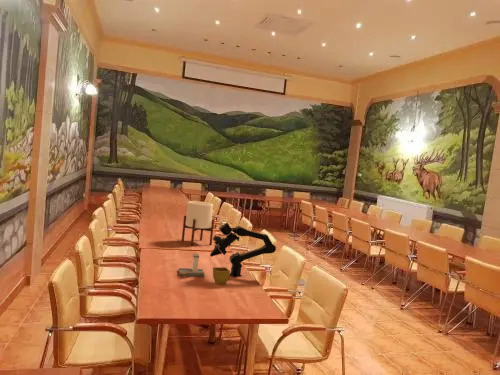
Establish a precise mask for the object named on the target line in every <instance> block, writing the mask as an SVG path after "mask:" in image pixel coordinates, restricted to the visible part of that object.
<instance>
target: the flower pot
mask: <svg viewBox="0 0 500 375" xmlns="http://www.w3.org/2000/svg"><path fill="white" fill-rule="evenodd" d="M229 274H231V270H230V269H228V268H227V267H225V266H224V267H212V276H213V281H214V282H215V284H217V285H226V284H227V282H228V280H229V277H230V275H229Z"/></svg>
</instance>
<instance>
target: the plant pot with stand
mask: <svg viewBox="0 0 500 375" xmlns="http://www.w3.org/2000/svg"><path fill="white" fill-rule="evenodd" d="M213 209H214V204H213V203H211V202H207V201H206V202H205V201H198V200H197V201H195V200H193V201H191V200H189V201H187V206H186V215H183V222H182V223H183V224H182V234H181V235H182V236H181V242H184V241H185V234H186V233H185V230H186V229H191V238H190V246H192V247H193V246H194V240H195V232H196V231H199V230H200V236H199V241H203V234H204V233H203V232H204V231H205V232H210V237H209V245H210V246H212V244H213V237H214V236H213V234H214V225H215V219H213V211H214V210H213Z"/></svg>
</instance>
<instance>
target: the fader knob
mask: <svg viewBox="0 0 500 375" xmlns="http://www.w3.org/2000/svg"><path fill="white" fill-rule="evenodd" d="M199 259H200V255H199V254H198V253H193V254H192V262H191V263H192V264H191V268H192V272H197V269H199Z"/></svg>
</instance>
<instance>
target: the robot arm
mask: <svg viewBox="0 0 500 375" xmlns="http://www.w3.org/2000/svg"><path fill="white" fill-rule="evenodd" d="M218 230H219V231H220V232H221V233H222V234H223V236H225V237H221V236H219V235H216V234H214V236H212V241H214V248H213V249H212V251H211V253H210V254H209V256H210V257H212V258H213V257H214V256H218V255H222V254H223V255H224V256H225V255H227V250H226V249H227V248H228V247H230V246H231V244H233V243H234V242H236V241H237V242H240V237H250V238H254V239H257V240H258V239H259V240H262V241H263V242H264V244H263V245H262V246H261V247H259V248H256V249H252V250H250V251H247V252H244V253H239V251H238V252H236V253H232V254H231V255H230V256H229V259H228V260H229V262H230V263H231V264H230V265H231V268H230V274H229V276H231V277H234V278H238V277H243V274H242V273H241V272H242V268H243V265H242V263H243V262H244V261H246V260H248V259H252V258H254V257H258V256H261V255H264V254H265V255H266V254H267V255H269V254H274V253H275V252H276V250H277V247H276V245H274V244H273V242H272V241H271V239H270V237H269V235H267V234H266V233H262V232H256V231H253V230H250V229H247V228H245V227H242V226H239V225H237V226H235V227H231V226H230V224H229V223H228V222H225V223H224V224H221V225H220V227H219V228H218Z"/></svg>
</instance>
